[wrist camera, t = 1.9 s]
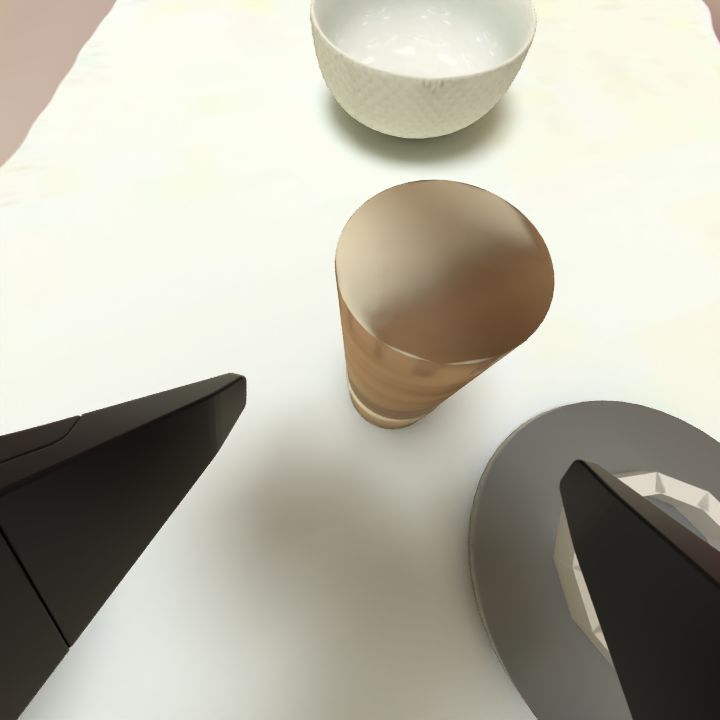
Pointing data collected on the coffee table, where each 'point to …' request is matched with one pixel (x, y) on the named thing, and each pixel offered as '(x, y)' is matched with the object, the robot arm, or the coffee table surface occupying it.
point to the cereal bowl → (420, 59)
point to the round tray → (530, 539)
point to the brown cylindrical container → (434, 294)
